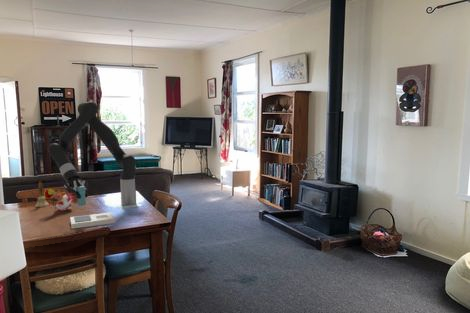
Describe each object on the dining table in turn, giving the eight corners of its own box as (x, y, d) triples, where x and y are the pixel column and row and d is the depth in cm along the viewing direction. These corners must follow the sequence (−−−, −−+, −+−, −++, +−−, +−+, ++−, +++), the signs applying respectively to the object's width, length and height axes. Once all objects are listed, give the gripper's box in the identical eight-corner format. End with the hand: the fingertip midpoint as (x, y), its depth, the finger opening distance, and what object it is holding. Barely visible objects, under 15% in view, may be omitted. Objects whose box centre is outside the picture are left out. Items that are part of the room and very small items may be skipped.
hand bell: (34, 207, 234) (32, 183, 232) (35, 204, 241) (34, 181, 240) (48, 206, 237) (47, 182, 235) (49, 203, 245) (48, 180, 243)
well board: (111, 217, 212) (111, 212, 211) (115, 223, 199) (115, 218, 199) (70, 222, 202) (70, 217, 201) (71, 229, 189) (71, 223, 189)
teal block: (85, 203, 200) (84, 185, 198) (86, 205, 196) (85, 187, 195) (77, 204, 198) (76, 186, 197) (78, 206, 194) (77, 187, 193)
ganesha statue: (76, 213, 226) (54, 198, 210) (57, 216, 229) (35, 201, 213) (81, 195, 234) (61, 179, 218) (63, 198, 237) (42, 182, 221)
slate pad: (89, 215, 204) (89, 215, 204) (91, 220, 195) (91, 219, 195) (74, 217, 201) (74, 216, 201) (75, 222, 192) (75, 221, 192)
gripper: (59, 170, 193) (74, 195, 188) (83, 167, 205) (97, 190, 200) (54, 179, 196) (68, 204, 191) (78, 175, 208) (92, 198, 203)
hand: (83, 197), depth 195 cm, fingers closed on teal block, 4 cm apart
